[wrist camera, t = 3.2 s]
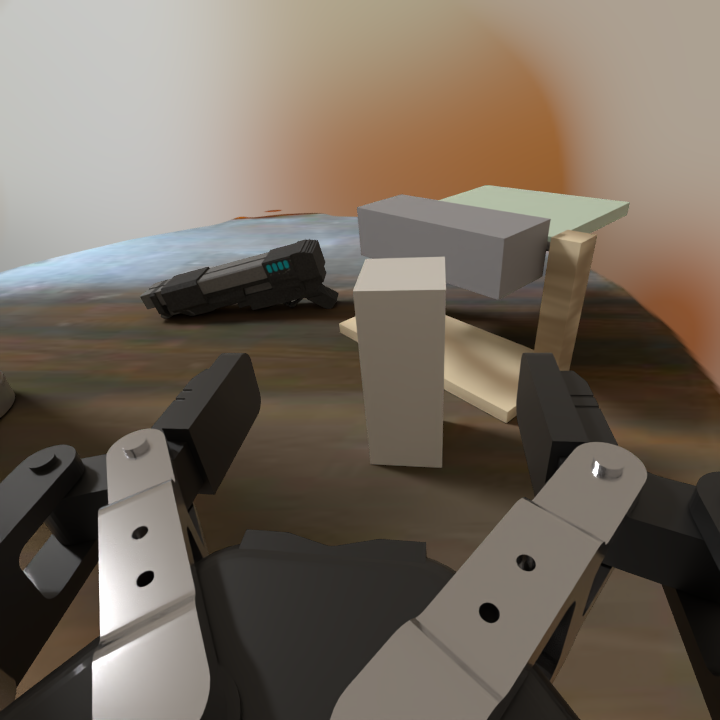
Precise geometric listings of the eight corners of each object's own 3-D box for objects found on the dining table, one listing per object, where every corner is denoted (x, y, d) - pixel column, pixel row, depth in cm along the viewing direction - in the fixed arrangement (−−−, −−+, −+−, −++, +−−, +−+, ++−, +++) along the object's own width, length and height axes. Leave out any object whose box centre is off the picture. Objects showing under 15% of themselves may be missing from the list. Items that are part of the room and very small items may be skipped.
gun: (342, 310, 47) (296, 224, 42) (191, 369, 52) (136, 299, 47) (345, 293, 50) (304, 212, 46) (205, 350, 56) (154, 282, 51)
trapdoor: (502, 301, 28) (508, 239, 26) (358, 254, 38) (354, 206, 36) (626, 233, 36) (638, 183, 34) (482, 209, 46) (485, 169, 44)
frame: (506, 423, 30) (524, 271, 24) (340, 332, 43) (326, 219, 37) (568, 375, 34) (597, 234, 28) (399, 305, 47) (394, 199, 41)
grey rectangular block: (441, 467, 27) (445, 289, 21) (370, 464, 28) (353, 291, 22) (441, 420, 31) (444, 256, 25) (378, 418, 32) (365, 259, 25)
